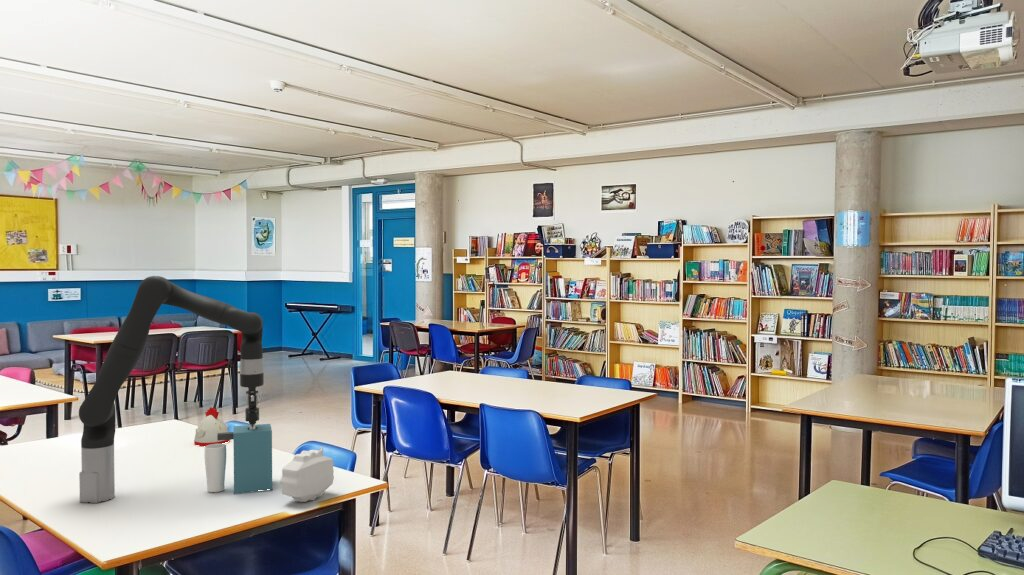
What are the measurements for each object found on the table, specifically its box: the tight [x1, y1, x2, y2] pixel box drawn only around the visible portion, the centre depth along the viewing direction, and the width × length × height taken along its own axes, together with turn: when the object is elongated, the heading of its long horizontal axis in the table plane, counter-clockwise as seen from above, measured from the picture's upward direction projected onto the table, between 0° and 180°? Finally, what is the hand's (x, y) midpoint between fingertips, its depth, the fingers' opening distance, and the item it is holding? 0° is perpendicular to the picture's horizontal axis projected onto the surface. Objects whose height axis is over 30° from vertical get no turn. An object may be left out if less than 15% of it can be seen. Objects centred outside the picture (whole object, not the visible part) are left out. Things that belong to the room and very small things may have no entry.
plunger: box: [244, 406, 260, 429], centre depth 253 cm, size 4×4×15 cm
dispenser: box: [217, 423, 273, 494], centre depth 252 cm, size 17×12×20 cm
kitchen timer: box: [193, 406, 230, 447], centre depth 318 cm, size 14×14×15 cm
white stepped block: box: [279, 445, 335, 503], centre depth 240 cm, size 11×18×16 cm, turn 152°
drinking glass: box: [204, 444, 227, 493], centre depth 249 cm, size 7×7×15 cm
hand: (252, 422), depth 253 cm, fingers closed on plunger, 4 cm apart
